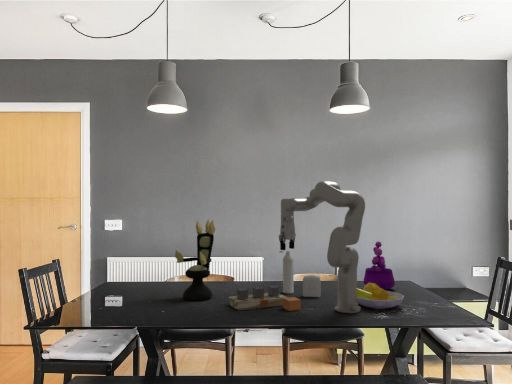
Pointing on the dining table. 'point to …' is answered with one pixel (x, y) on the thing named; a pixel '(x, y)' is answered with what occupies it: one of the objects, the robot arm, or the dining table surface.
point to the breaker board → (256, 302)
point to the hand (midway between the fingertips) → (287, 249)
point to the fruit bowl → (378, 297)
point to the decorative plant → (379, 271)
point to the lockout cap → (291, 304)
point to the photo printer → (311, 286)
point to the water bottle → (288, 273)
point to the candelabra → (199, 264)
